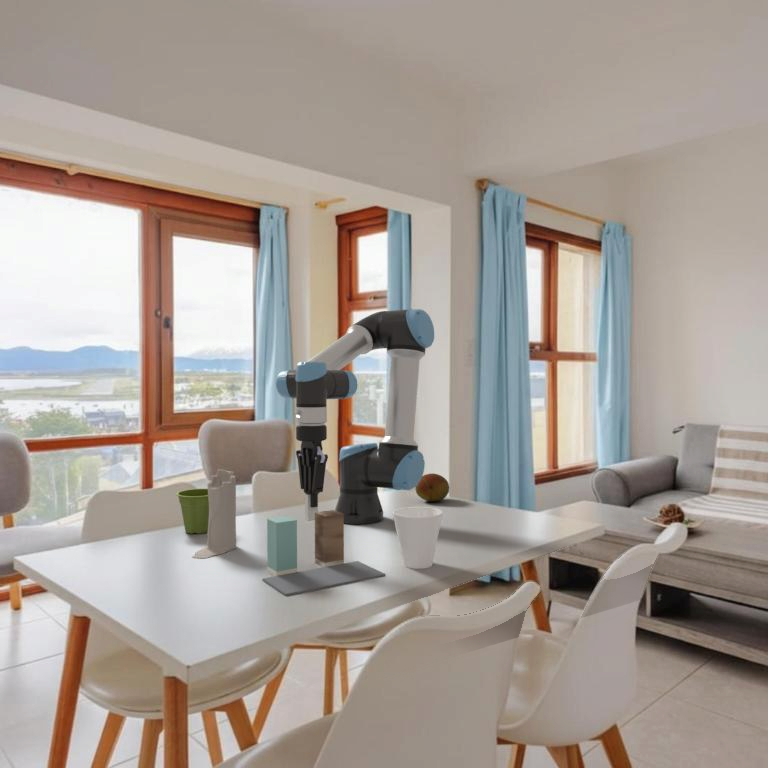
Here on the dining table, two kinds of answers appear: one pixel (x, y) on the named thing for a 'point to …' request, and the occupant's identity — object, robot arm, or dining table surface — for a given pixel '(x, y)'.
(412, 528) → the cup
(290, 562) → the teal pillar
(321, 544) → the walnut pillar
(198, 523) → the plant pot
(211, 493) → the grey boot
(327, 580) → the slate mat
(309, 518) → the robot arm
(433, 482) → the fruit
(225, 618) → the dining table surface
